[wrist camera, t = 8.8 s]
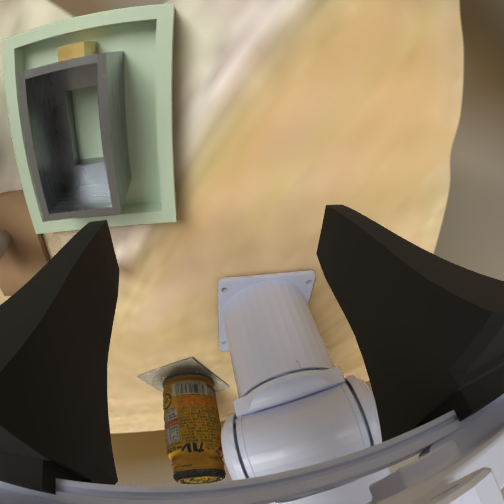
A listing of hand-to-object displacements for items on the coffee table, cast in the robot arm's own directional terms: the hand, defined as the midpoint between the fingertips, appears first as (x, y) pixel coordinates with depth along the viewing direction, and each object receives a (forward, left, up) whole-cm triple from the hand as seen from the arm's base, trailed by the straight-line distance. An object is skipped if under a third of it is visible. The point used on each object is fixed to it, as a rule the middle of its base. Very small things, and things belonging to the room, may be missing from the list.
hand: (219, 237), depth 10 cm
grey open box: (+2, +7, -9) cm, 11 cm away
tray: (+2, +7, -10) cm, 12 cm away
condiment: (-26, +3, -10) cm, 28 cm away
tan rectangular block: (-6, +15, -10) cm, 19 cm away
